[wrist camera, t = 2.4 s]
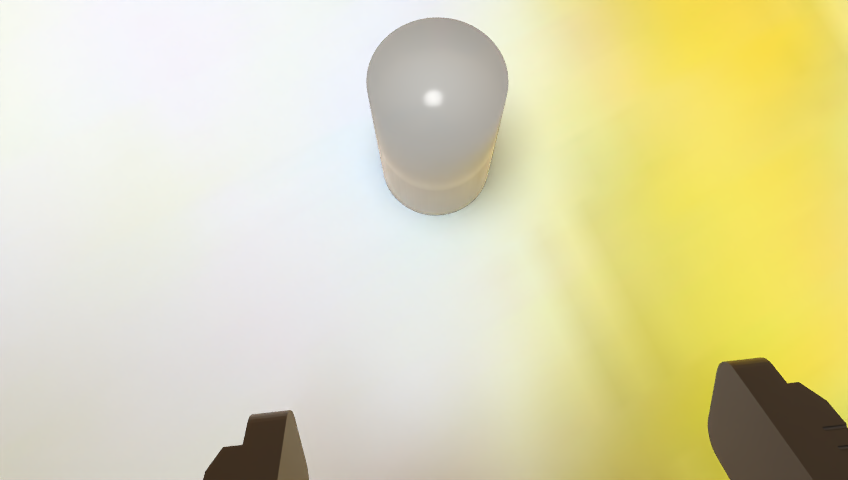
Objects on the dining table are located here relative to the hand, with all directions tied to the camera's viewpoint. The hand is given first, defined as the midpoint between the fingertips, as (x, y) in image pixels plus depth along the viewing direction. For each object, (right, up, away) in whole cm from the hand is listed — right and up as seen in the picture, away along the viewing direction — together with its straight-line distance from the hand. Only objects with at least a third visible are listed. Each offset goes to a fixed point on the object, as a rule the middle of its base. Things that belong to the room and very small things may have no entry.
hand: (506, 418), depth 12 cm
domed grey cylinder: (-1, +7, +16) cm, 17 cm away
